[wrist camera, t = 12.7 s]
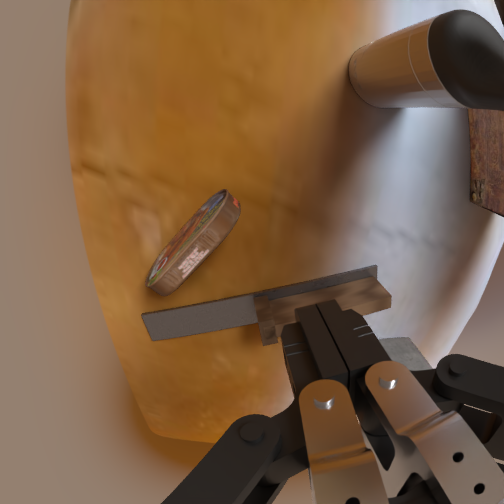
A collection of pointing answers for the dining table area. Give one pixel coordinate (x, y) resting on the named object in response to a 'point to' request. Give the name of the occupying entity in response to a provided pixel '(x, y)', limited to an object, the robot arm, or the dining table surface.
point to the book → (487, 159)
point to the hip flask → (405, 353)
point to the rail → (234, 308)
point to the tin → (194, 243)
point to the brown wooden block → (347, 296)
